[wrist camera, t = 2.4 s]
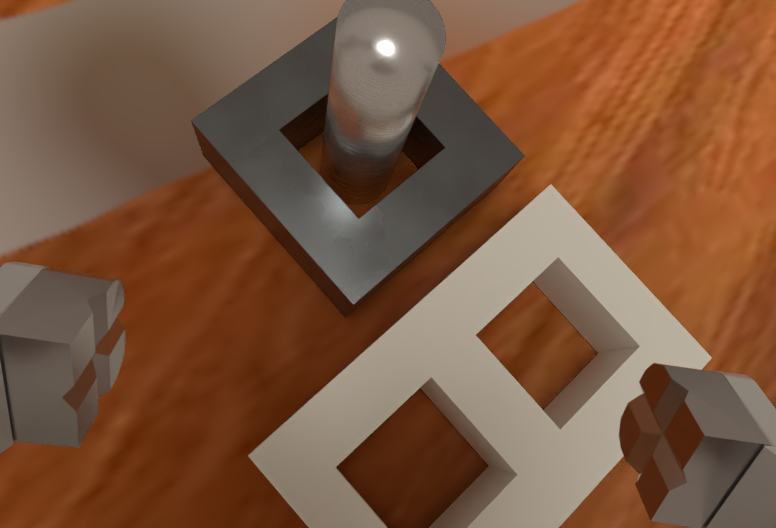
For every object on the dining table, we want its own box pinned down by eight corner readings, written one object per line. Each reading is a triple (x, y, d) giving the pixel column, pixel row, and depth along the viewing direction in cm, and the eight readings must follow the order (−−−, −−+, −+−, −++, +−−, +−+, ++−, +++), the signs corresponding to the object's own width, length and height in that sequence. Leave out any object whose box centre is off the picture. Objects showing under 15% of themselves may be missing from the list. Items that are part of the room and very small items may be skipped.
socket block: (203, 155, 35) (190, 120, 31) (363, 39, 38) (372, -9, 34) (345, 317, 34) (353, 304, 30) (497, 185, 37) (524, 155, 33)
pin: (305, 166, 36) (313, 21, 22) (358, 125, 37) (395, -37, 24) (352, 218, 36) (388, 102, 22) (403, 175, 37) (468, 41, 23)
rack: (254, 449, 32) (247, 456, 28) (520, 210, 37) (550, 184, 33) (410, 634, 31) (429, 670, 27) (662, 363, 36) (712, 357, 32)
